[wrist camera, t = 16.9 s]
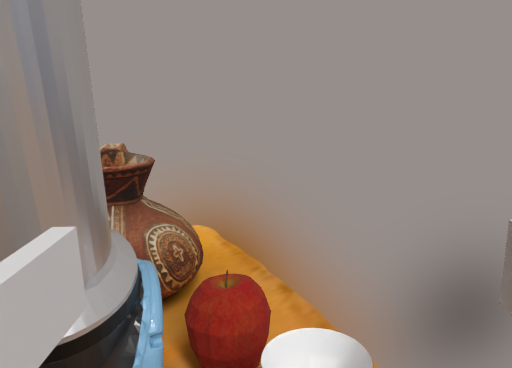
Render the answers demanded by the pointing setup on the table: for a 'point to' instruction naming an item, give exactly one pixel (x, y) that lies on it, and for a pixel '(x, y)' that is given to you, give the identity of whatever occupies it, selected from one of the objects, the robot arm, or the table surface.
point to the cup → (314, 350)
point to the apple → (228, 322)
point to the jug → (148, 220)
